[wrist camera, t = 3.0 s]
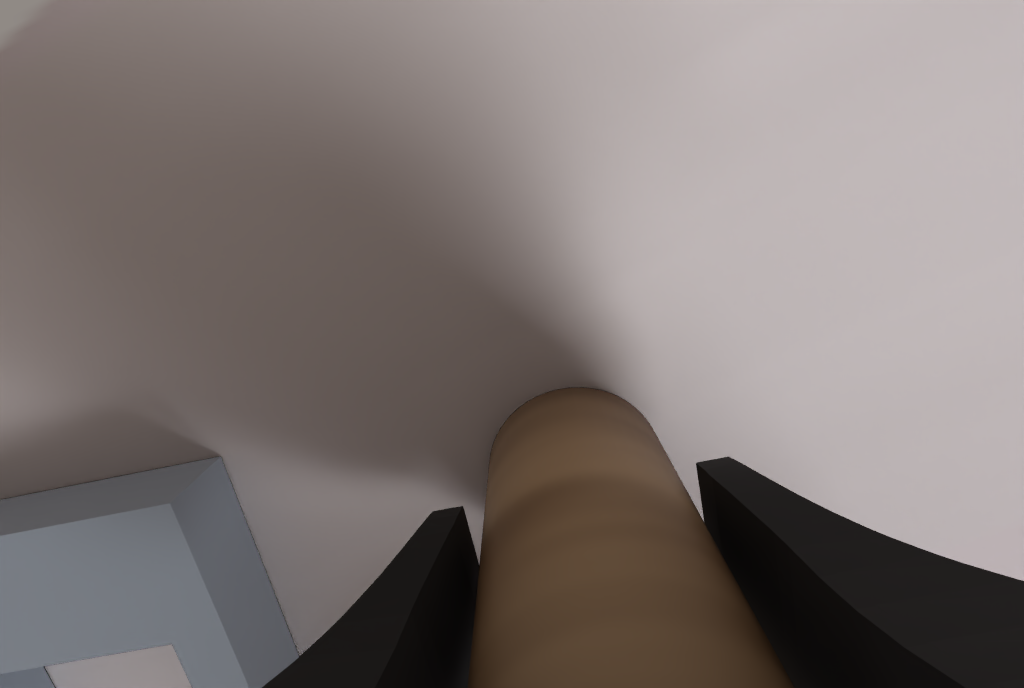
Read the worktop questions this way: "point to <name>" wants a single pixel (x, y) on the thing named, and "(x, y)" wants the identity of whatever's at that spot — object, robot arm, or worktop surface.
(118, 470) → the worktop surface
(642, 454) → the long dowel
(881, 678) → the robot arm
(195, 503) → the board
